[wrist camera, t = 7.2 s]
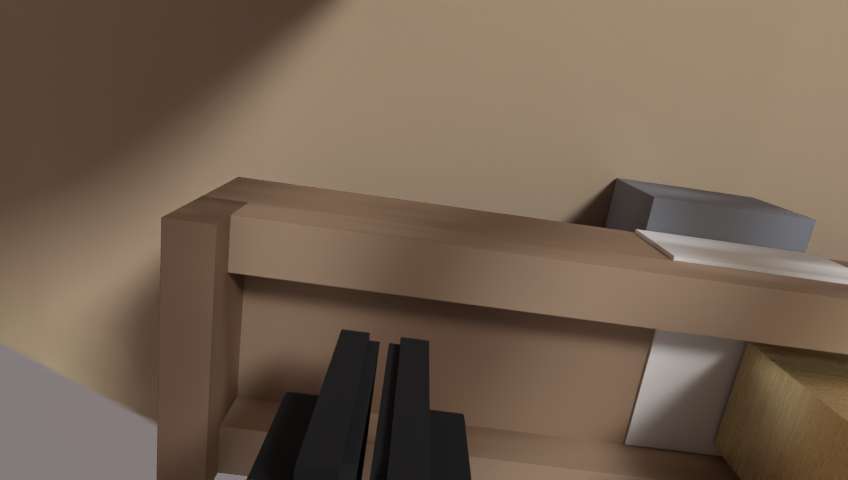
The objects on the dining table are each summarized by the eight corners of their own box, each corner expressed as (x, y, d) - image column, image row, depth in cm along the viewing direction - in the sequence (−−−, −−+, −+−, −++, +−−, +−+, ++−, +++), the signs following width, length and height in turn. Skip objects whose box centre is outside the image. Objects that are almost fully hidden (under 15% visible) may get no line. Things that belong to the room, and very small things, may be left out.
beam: (1074, 243, 18) (1497, 349, 11) (974, 453, 20) (1275, 657, 13) (271, 128, 17) (162, 163, 10) (255, 363, 19) (156, 531, 12)
